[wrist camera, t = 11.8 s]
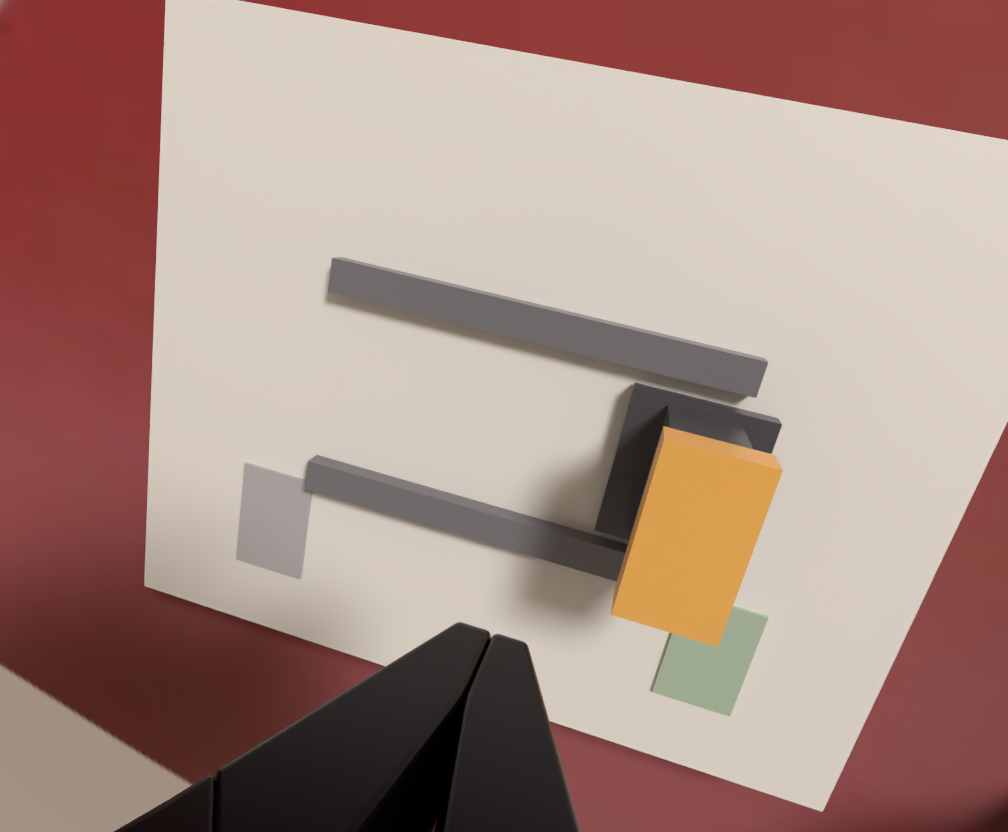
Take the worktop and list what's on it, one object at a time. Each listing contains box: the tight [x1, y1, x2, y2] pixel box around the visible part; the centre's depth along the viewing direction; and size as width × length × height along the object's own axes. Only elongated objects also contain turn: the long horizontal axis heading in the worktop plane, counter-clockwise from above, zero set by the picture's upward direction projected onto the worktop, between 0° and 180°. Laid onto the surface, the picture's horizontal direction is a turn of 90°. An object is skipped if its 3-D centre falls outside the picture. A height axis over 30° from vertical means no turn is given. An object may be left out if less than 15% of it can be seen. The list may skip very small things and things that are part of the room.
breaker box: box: [144, 0, 1008, 812], centre depth 17 cm, size 20×16×4 cm
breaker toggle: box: [595, 382, 783, 647], centre depth 13 cm, size 3×4×4 cm
